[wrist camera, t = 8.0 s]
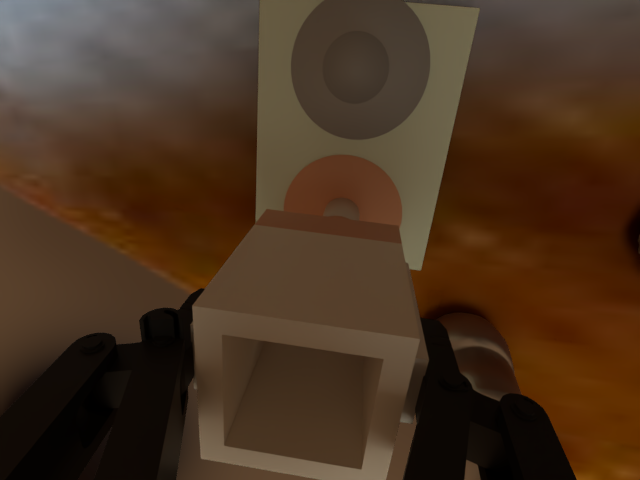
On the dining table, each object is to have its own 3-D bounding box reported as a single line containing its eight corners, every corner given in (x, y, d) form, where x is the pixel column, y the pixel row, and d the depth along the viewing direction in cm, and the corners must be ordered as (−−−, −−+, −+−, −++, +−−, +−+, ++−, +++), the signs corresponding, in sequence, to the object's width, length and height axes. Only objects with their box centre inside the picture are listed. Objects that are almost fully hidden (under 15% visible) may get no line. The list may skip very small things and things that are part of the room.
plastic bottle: (404, 361, 32) (448, 747, 14) (425, 292, 29) (515, 666, 11) (482, 376, 31) (634, 794, 13) (511, 308, 29) (753, 721, 10)
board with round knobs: (265, -16, 22) (225, -50, 16) (476, 0, 21) (519, -28, 15) (259, 247, 29) (229, 294, 23) (417, 268, 28) (430, 323, 22)
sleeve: (266, 209, 17) (192, 305, 10) (398, 225, 17) (420, 339, 10) (262, 317, 20) (201, 458, 13) (378, 334, 19) (382, 490, 12)
